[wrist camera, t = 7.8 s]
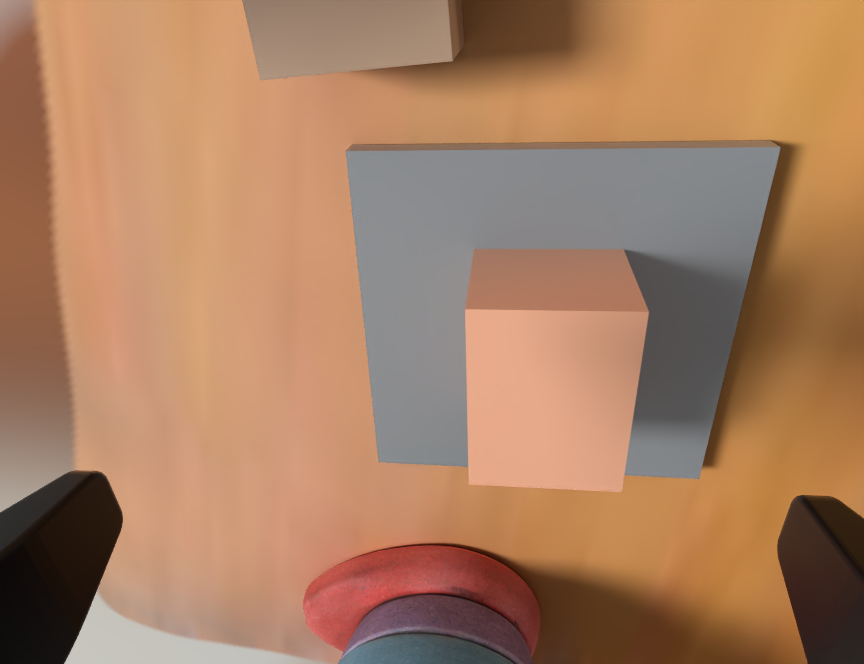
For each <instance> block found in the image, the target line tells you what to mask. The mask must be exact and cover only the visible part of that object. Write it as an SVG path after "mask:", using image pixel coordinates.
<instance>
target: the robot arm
mask: <svg viewBox="0 0 864 664" xmlns="http://www.w3.org/2000/svg"><path fill="white" fill-rule="evenodd" d="M122 523H123V515H122V511H121V508H120V506H119V504H118V501H117V499H116V497H115V495H114V492H113V490H112V488H111V486H110V483H109V481H108V479H107V477H106V476H105V475H104V474H103V473H102V472H98V471H78V470H76V471H71V472H68V473H66V474H64V475H62V476H61V477H59V478H58V479H56V480H54V481H52V482H51V483H49V484H48V485H46V486H44V487H42V488H41V489H39V490H37V491H36V492H34V493H32V494H31V495H29V496H27V497H25V498H24V499H22V500H20V501H19V502H17V503H16V504H14V505H12V506H11V507H9V508H7V509H5V510H4V511H2V512H0V664H64V663H65V661H66V659H67V657H68V655H69V653H70V651H71V649H72V647H73V645H74V643H75V641H76V639H77V636H78V635H79V632H80V630H81V628H82V625H83V623H84V621H85V618H86V616H87V614H88V611H89V609H90V606H91V604H92V601H93V599H94V596H95V594H96V591H97V589H98V586H99V584H100V581H101V579H102V576H103V574H104V571H105V569H106V566H107V564H108V561H109V559H110V557H111V554H112V552H113V549H114V547H115V544H116V542H117V539H118V537H119V534H120V532H121V528H122ZM777 551H778V559H779V563H780V566H781V570H782V573H783V577H784V580H785V584H786V588H787V591H788V595H789V598H790V602H791V605H792V609H793V612H794V616H795V620H796V623H797V627H798V630H799V634H800V637H801V641H802V644H803V648H804V652H805V655H806V659H807V662H808V664H864V518H862V517H861V516H860V515H858V514H857V513H856V512H854V511H853V510H852V509H850V508H849V507H848V506H846V505H845V504H844V503H842V502H841V501H839V500H838V499H836V498H834V497H830V496H812V495H800V496H797V497H796V498H795V499H793V501H792V503H791V505H790V508H789V511H788V513H787V516H786V519H785V522H784V525H783V527H782V530H781V533H780V536H779V539H778V545H777Z"/></svg>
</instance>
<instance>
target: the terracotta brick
mask: <svg viewBox="0 0 864 664" xmlns="http://www.w3.org/2000/svg"><path fill="white" fill-rule="evenodd" d="M648 315H649V311H648V308H647V306H646V303H645V301H644V298H643V296H642V293H641V291H640V288H639V286H638V284H637V281H636V279H635V276H634V274H633V271H632V269H631V266H630V264H629V261H628V259H627V256H626V254H625V252H624V249H474V252H473V259H472V266H471V273H470V279H469V286H468V293H467V300H466V306H465V329H466V378H467V428H468V477H469V484H470V485H490V486H510V487H530V488H550V489H570V490H590V491H610V492H622V487H623V481H624V474H625V467H626V461H627V454H628V448H629V441H630V434H631V428H632V421H633V415H634V408H635V401H636V395H637V388H638V381H639V375H640V368H641V362H642V355H643V348H644V342H645V335H646V328H647V322H648Z"/></svg>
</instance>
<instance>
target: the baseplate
mask: <svg viewBox="0 0 864 664" xmlns="http://www.w3.org/2000/svg"><path fill="white" fill-rule="evenodd" d="M780 149H781V147H780V146H778V145H777V144H775V143H773V142H772V141H770V140H756V141H659V142H562V143H465V144H368V145H351V146H350V147H349V148H348V149H347V150H346V158H347V167H348V177H349V186H350V196H351V205H352V215H353V224H354V233H355V243H356V252H357V262H358V271H359V281H360V290H361V299H362V309H363V318H364V328H365V337H366V347H367V356H368V365H369V375H370V384H371V394H372V403H373V413H374V422H375V431H376V441H377V450H378V460H379V462H387V463H406V464H425V465H443V466H462V467H468V428H467V378H466V329H465V306H466V300H467V293H468V286H469V279H470V273H471V266H472V259H473V252H474V249H624V252H625V254H626V256H627V259H628V261H629V264H630V266H631V269H632V271H633V274H634V276H635V279H636V281H637V284H638V286H639V288H640V291H641V293H642V296H643V298H644V301H645V303H646V306H647V308H648V311H649V315H648V322H647V328H646V335H645V342H644V348H643V355H642V362H641V368H640V375H639V381H638V388H637V395H636V401H635V408H634V415H633V421H632V428H631V434H630V441H629V448H628V454H627V461H626V467H625V474H624V475H632V476H651V477H670V478H689V479H699V477H700V473H701V469H702V465H703V461H704V457H705V453H706V449H707V444H708V440H709V436H710V432H711V428H712V424H713V420H714V416H715V412H716V408H717V404H718V400H719V396H720V392H721V388H722V384H723V380H724V376H725V372H726V367H727V363H728V359H729V355H730V351H731V347H732V343H733V339H734V335H735V331H736V327H737V323H738V319H739V315H740V311H741V307H742V303H743V299H744V295H745V290H746V286H747V282H748V278H749V274H750V270H751V266H752V262H753V258H754V254H755V250H756V246H757V242H758V238H759V234H760V230H761V226H762V222H763V218H764V213H765V209H766V205H767V201H768V197H769V193H770V189H771V185H772V181H773V177H774V173H775V169H776V165H777V161H778V157H779V153H780Z"/></svg>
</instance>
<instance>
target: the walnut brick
mask: <svg viewBox="0 0 864 664" xmlns="http://www.w3.org/2000/svg"><path fill="white" fill-rule="evenodd" d="M242 1H243V5H244V10H245V14H246V18H247V23H248V27H249V32H250V36H251V41H252V45H253V49H254V54H255V58H256V63H257V67H258V72H259V76H260V80H268V79H278V78H288V77H298V76H308V75H319V74H329V73H339V72H349V71H359V70H369V69H379V68H389V67H399V66H409V65H419V64H429V63H439V62H449V61H453V60H454V58H455V57H456V56H457V54H458V53H459V52H460V50H461V49H462V48H463V46H464V45H465V44H464V30H463V15H462V1H461V0H242Z"/></svg>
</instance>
